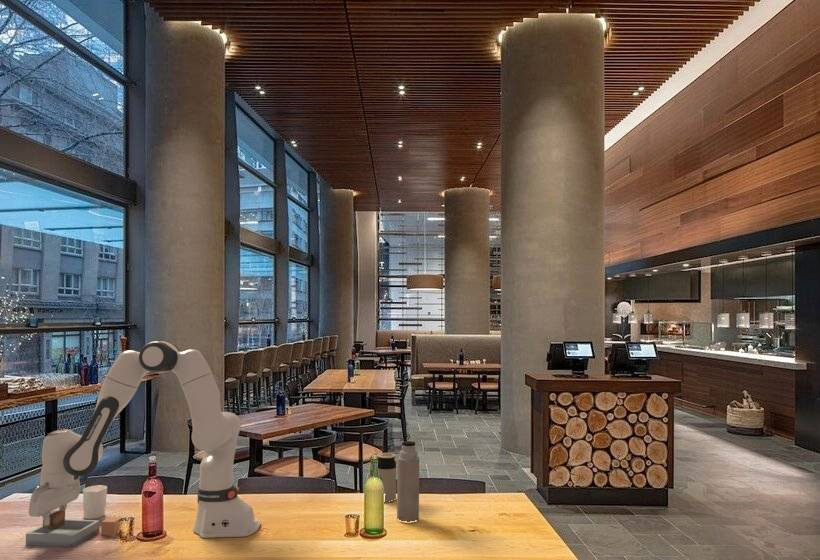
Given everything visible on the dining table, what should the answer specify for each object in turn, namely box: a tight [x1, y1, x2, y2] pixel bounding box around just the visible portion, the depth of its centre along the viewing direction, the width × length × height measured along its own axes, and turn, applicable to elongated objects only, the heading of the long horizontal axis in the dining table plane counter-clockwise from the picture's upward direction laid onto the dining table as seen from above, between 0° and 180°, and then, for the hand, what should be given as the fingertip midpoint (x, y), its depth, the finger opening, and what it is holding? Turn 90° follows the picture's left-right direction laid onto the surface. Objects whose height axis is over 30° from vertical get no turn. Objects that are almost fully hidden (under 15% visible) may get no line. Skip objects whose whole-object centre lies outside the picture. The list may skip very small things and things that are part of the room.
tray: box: [25, 518, 101, 548], centre depth 198 cm, size 16×14×4 cm
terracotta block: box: [100, 516, 123, 536], centre depth 202 cm, size 4×4×4 cm
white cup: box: [82, 484, 108, 520], centre depth 219 cm, size 8×8×10 cm
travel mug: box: [377, 452, 397, 502], centre depth 240 cm, size 8×8×18 cm
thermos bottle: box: [396, 440, 420, 522], centre depth 218 cm, size 8×8×28 cm
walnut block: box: [42, 510, 66, 529], centre depth 198 cm, size 4×4×4 cm
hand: (54, 521), depth 198 cm, fingers closed on walnut block, 4 cm apart
